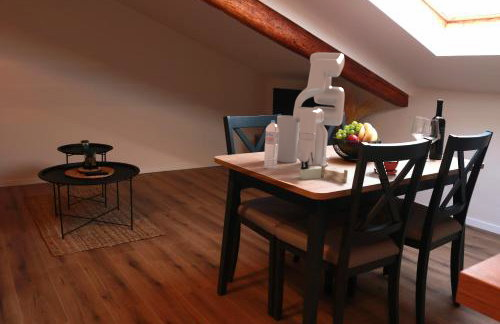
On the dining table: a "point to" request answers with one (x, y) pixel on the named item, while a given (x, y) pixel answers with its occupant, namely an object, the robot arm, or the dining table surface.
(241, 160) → the dining table surface
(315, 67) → the robot arm
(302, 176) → the bar
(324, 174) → the fence fixed
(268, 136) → the water bottle
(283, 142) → the cylinder vase
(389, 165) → the plant pot
